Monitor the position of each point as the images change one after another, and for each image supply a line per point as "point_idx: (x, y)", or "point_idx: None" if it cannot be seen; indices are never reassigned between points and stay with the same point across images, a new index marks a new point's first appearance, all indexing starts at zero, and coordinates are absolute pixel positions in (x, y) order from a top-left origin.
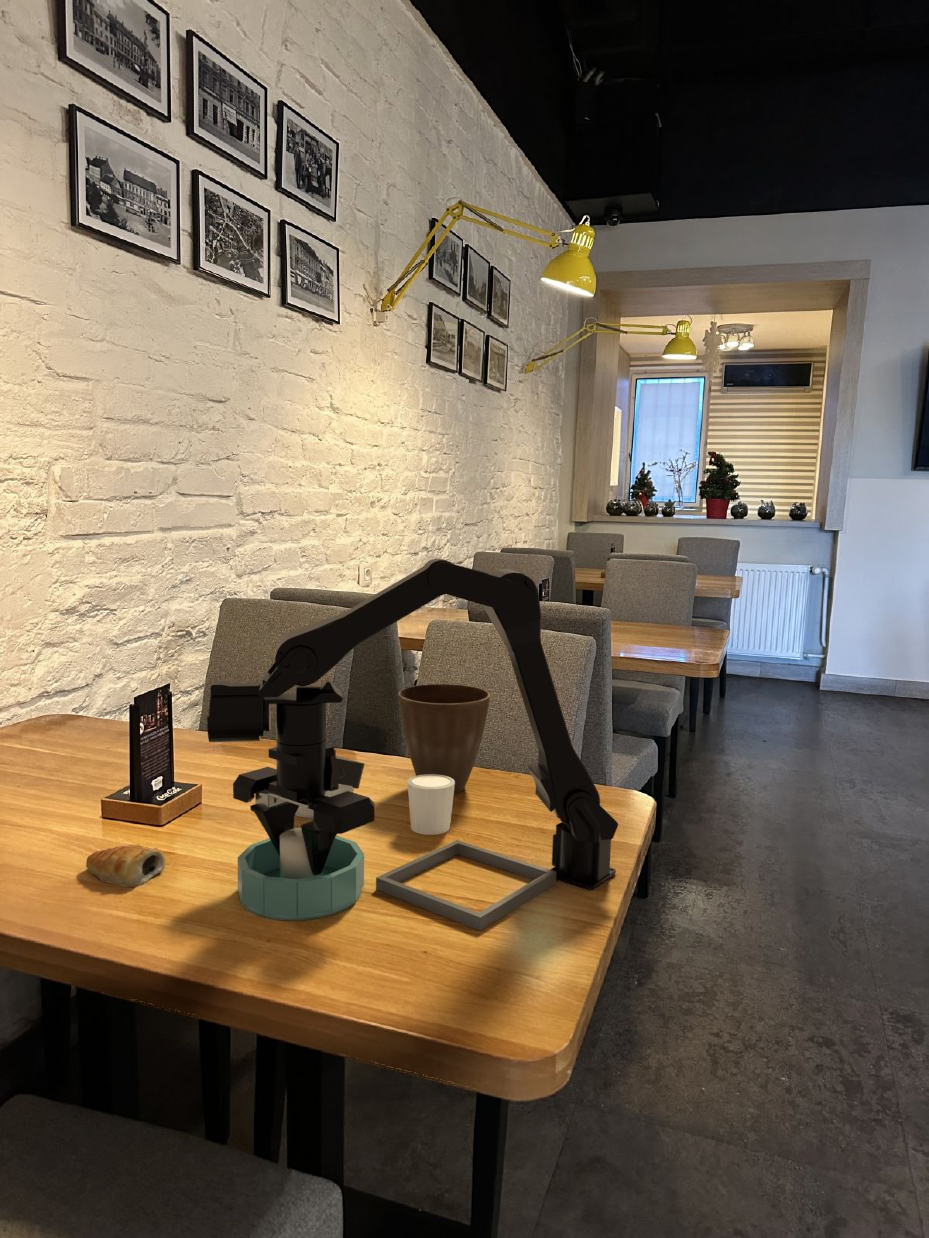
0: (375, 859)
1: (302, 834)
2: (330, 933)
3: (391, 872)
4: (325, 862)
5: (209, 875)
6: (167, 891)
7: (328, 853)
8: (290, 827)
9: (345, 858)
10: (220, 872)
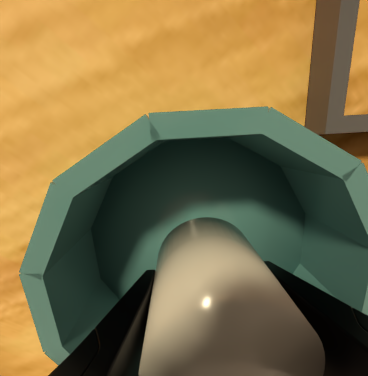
0: (188, 3)
1: (225, 368)
2: None
3: (340, 83)
4: (292, 274)
5: (24, 310)
6: (45, 373)
7: (322, 292)
8: (122, 370)
9: (221, 137)
10: (23, 292)
